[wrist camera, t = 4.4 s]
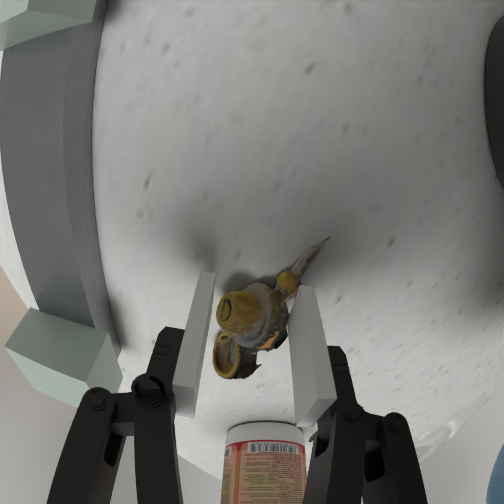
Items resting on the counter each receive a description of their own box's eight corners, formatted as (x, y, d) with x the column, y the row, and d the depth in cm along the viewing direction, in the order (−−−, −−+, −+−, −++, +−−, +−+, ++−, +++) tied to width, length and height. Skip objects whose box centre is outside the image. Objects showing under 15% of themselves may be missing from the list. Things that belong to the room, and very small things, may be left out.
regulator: (333, 148, 14) (172, 334, 18) (384, 177, 11) (183, 385, 15) (388, 216, 18) (252, 354, 22) (426, 248, 15) (269, 394, 19)
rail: (124, -53, 6) (103, -69, 4) (121, 349, 21) (111, 373, 19) (52, -30, 5) (27, -37, 3) (72, 335, 20) (61, 356, 18)
